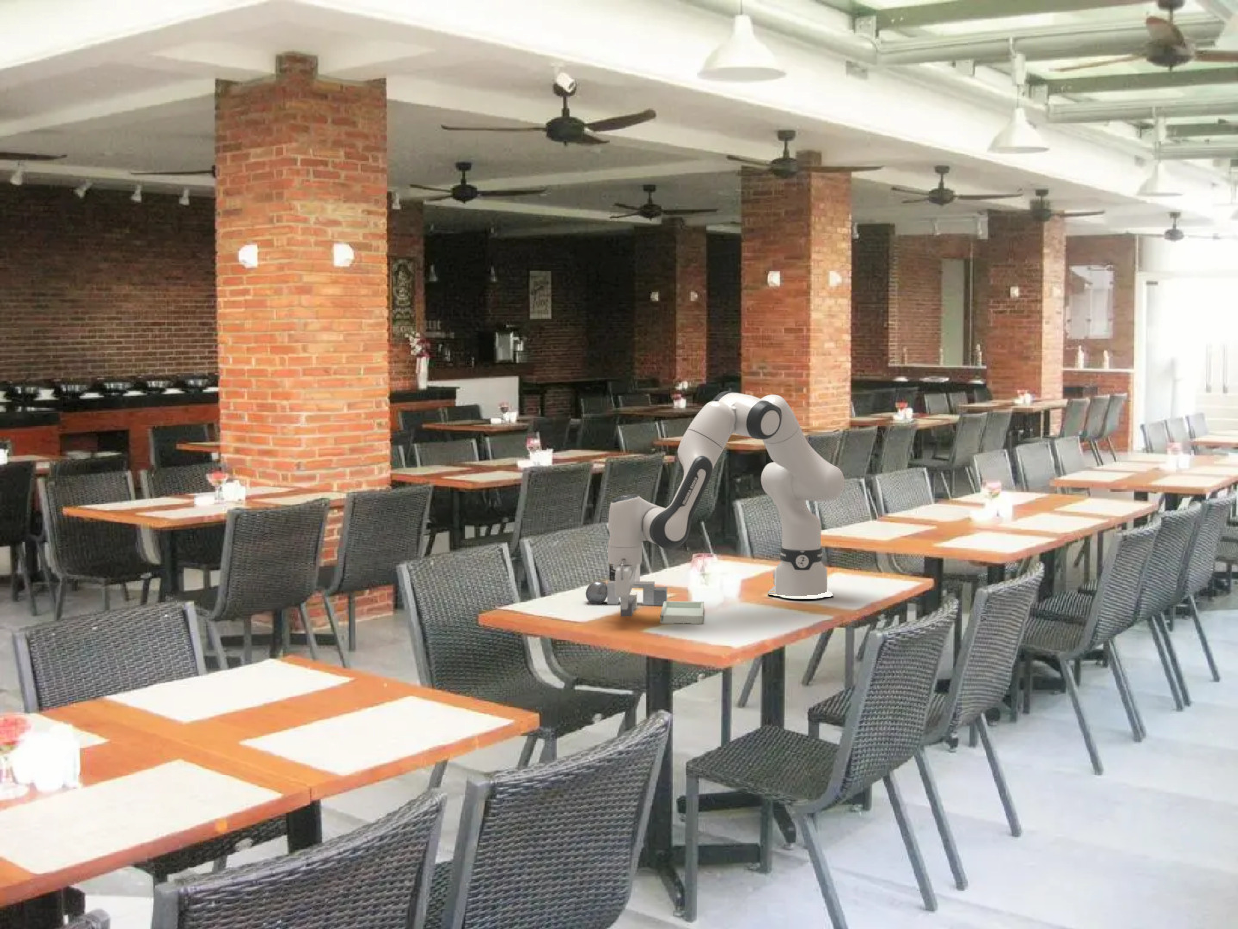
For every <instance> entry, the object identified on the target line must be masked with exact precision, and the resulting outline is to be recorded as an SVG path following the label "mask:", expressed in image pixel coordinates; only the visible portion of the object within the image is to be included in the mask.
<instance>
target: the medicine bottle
mask: <svg viewBox="0 0 1238 929" xmlns="http://www.w3.org/2000/svg"><path fill="white" fill-rule="evenodd" d="M608 564H609V566H608V567H609V569H608V570H609V571H608V572H609V579H608V581H615V573H616V570H614V569H613V564H610V563H608ZM635 581H641V564H637V569H636V573H635Z"/></svg>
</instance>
